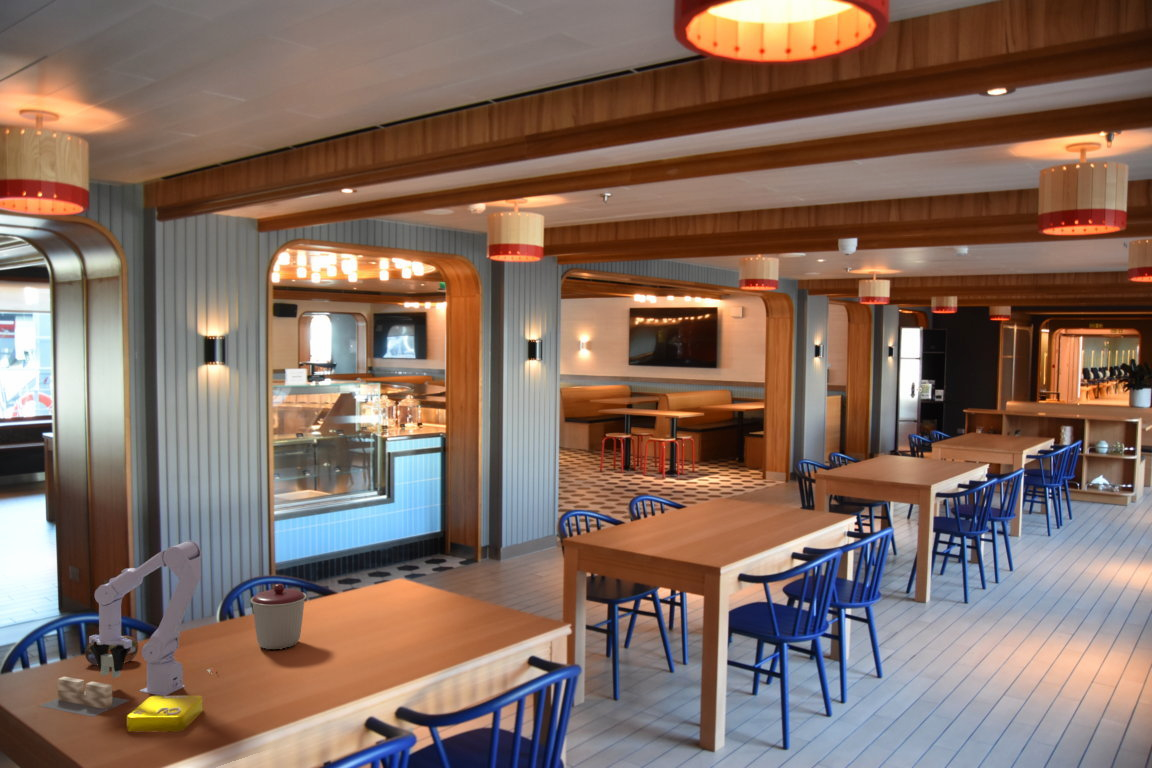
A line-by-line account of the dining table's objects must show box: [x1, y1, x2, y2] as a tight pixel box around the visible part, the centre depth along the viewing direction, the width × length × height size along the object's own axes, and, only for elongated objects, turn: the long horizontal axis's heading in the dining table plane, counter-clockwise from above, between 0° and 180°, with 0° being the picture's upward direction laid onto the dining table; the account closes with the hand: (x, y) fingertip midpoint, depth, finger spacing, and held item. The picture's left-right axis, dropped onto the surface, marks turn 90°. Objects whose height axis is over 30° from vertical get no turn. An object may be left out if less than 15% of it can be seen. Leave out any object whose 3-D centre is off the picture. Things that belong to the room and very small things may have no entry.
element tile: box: [126, 694, 203, 733], centre depth 230 cm, size 15×15×5 cm
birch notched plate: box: [57, 676, 113, 709], centre depth 240 cm, size 18×2×6 cm, turn 70°
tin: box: [84, 635, 139, 666], centre depth 273 cm, size 15×3×8 cm, turn 105°
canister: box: [250, 583, 308, 650], centre depth 291 cm, size 18×18×21 cm
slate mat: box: [39, 696, 130, 717], centre depth 240 cm, size 20×12×1 cm, turn 70°
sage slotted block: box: [100, 654, 121, 679], centre depth 252 cm, size 2×6×6 cm, turn 70°
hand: (110, 669), depth 252 cm, fingers closed on sage slotted block, 6 cm apart
